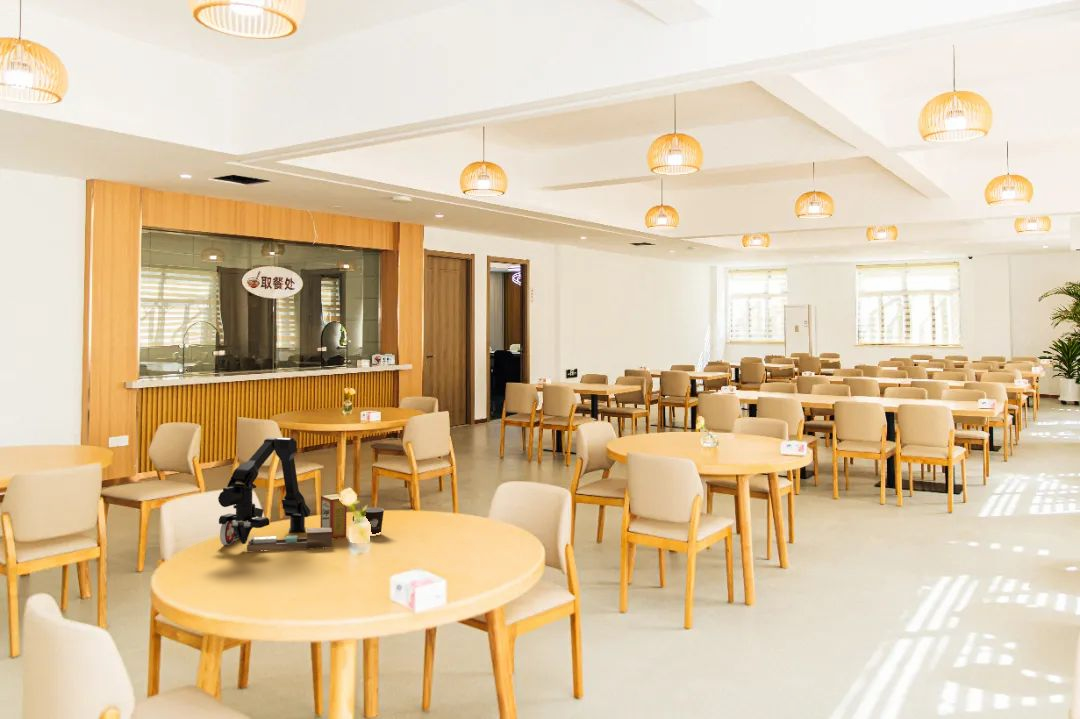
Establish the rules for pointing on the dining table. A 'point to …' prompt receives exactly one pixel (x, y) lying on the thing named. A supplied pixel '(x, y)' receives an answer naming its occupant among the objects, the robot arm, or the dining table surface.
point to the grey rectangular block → (263, 540)
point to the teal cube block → (291, 539)
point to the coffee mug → (374, 519)
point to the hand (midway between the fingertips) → (243, 543)
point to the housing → (299, 541)
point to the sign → (227, 533)
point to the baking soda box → (333, 515)
